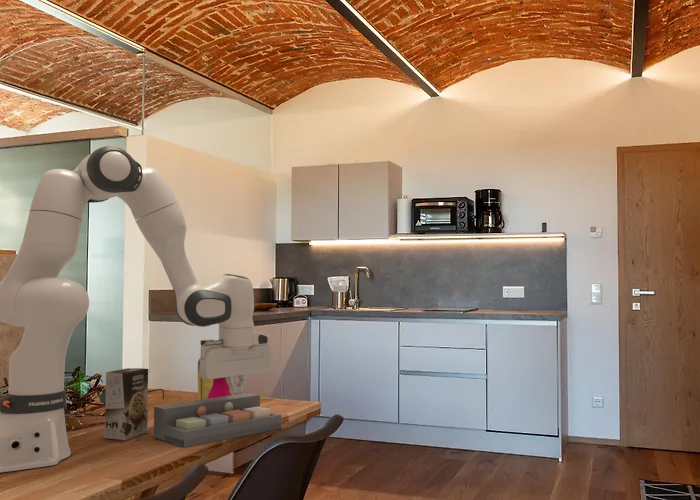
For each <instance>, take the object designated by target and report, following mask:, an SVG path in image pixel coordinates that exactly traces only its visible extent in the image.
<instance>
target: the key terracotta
mask: <svg viewBox="0 0 700 500" xmlns="http://www.w3.org/2000/svg"><path fill="white" fill-rule="evenodd" d="M222 415H226V416H228V422H230V423H231V422H237V421H243V420H249V419H250V412H246V411H242V410H234V411H227V412H222Z"/></svg>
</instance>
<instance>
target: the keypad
mask: <svg viewBox="0 0 700 500" xmlns="http://www.w3.org/2000/svg"><path fill="white" fill-rule="evenodd" d="M258 406H259V407H261V394H257V393H251V392H247V393H246V392H245V393H244V392H243V393H238V394H232V395H230V396H223V397H216V398H209V399H202V400H198V399H197V400H190V401H183V402H177V403H176V402H175V403H169V404H168V403H167V404H161V405H155V406H153V438H154V437H155V438H154V439H157V438H158V440H160V439H161V441H163V440H164V442H166V441H167V443H169V442H170V443H169V444H172V443H173V445H175V444H176V446H178V445H179V447H180V448H181V447H182V448H189V447H193V446H198V445H199V446H200V445H204V444H209V443H215V442H219V441H223V440H229V439H236V438H239V437H245V436H250V435H256V434H260V433H265V432H270V431H276V430H281V429H282V414H278V413H275V412H271V411H270V416H266V417H260V418H254V419H249V420H243V421H237V422H231V423H230V422H228V423H226V424H220V425H214V426H209V427H208V426H206V427H203V428H197V429H192V430H183V429H180V428H176V420H178V419H184V418H190V417H197V418H200V416H203V415H209V414H215V413H218V414H222V412H227V411H234V410H242V411H243V409H246V408H252V407H258Z"/></svg>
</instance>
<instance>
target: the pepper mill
mask: <svg viewBox="0 0 700 500" xmlns="http://www.w3.org/2000/svg"><path fill="white" fill-rule="evenodd" d="M230 395H233V394H230V387H229V385H228V383H227V382H226V377H224V378H216V379H213V384H212V387H211V390H210V392H209V395H208V399H209V398H216V397H223V396H230Z"/></svg>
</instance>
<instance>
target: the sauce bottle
mask: <svg viewBox="0 0 700 500" xmlns="http://www.w3.org/2000/svg"><path fill="white" fill-rule="evenodd" d="M206 341H215V339H212V338H209V339H208V338H207V339H201V340H200V346H201V347H202V345H203V344H204V343H206ZM204 346H207V345H204ZM201 347H200V348H201ZM200 358H201V356H200V357H199V359H198V361H197V398H198V399H197V400H202V399H208V395H209V392H210V390H211V387H212V384H213V379H203V378H201V377H200V375H199V365H200Z"/></svg>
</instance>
